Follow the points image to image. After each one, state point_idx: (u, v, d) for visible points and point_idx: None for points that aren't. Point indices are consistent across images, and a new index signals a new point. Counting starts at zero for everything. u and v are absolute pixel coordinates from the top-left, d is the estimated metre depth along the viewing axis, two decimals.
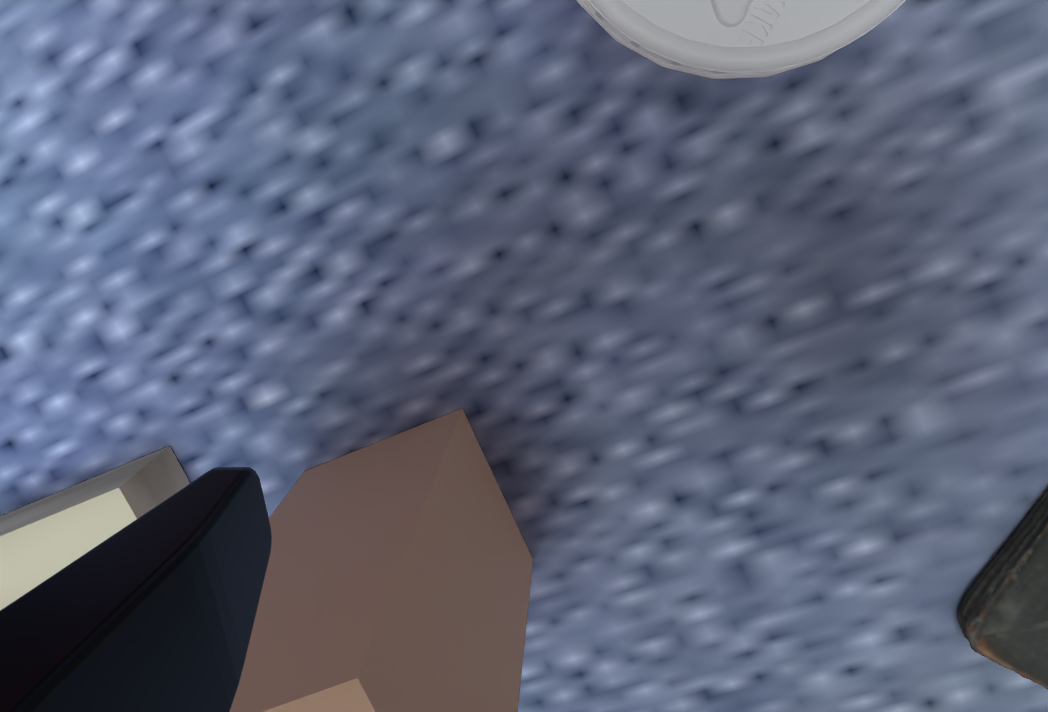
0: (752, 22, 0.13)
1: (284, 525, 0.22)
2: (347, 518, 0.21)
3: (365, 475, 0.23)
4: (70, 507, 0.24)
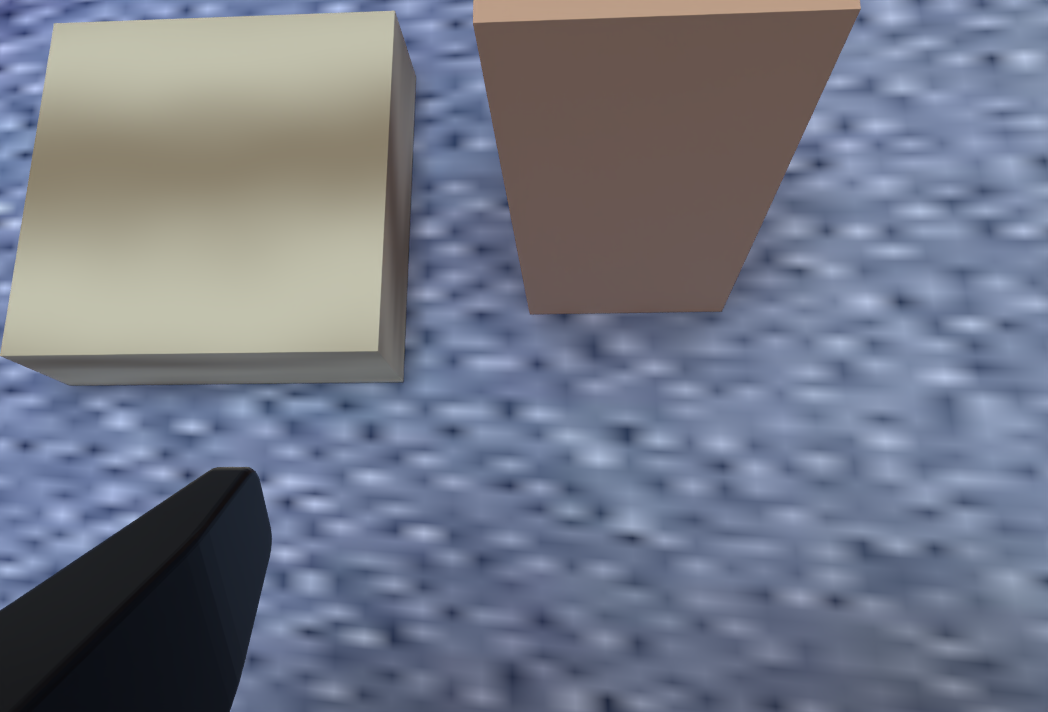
0: None
1: None
2: None
3: None
4: (336, 14, 0.23)
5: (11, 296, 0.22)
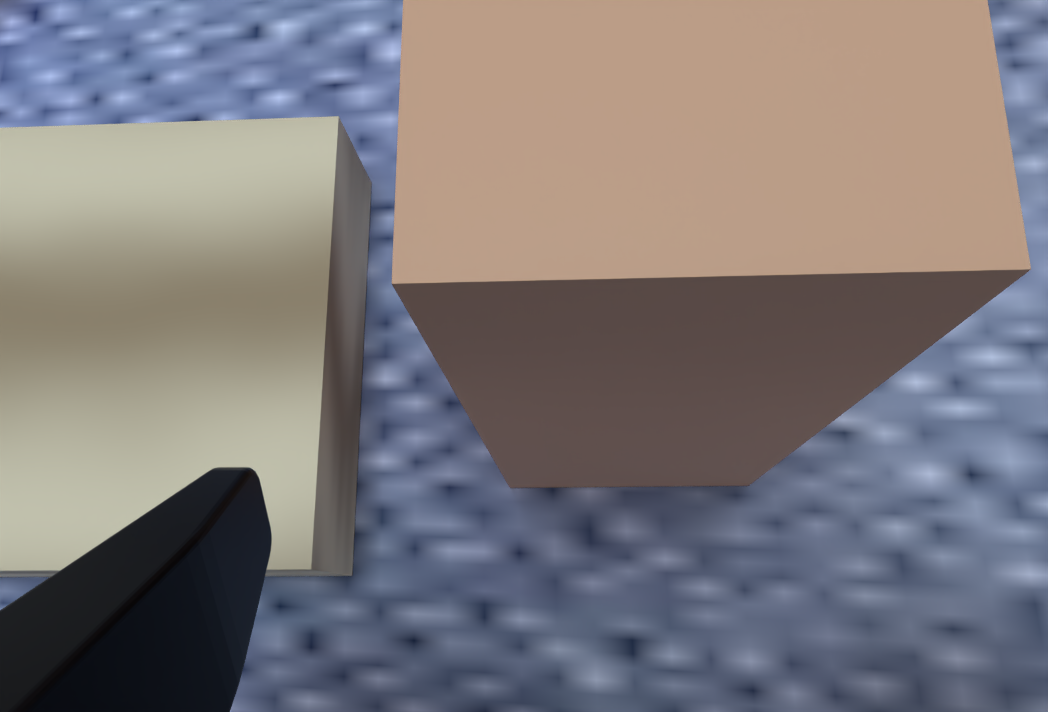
0: None
1: None
2: None
3: None
4: (266, 120, 0.19)
5: None
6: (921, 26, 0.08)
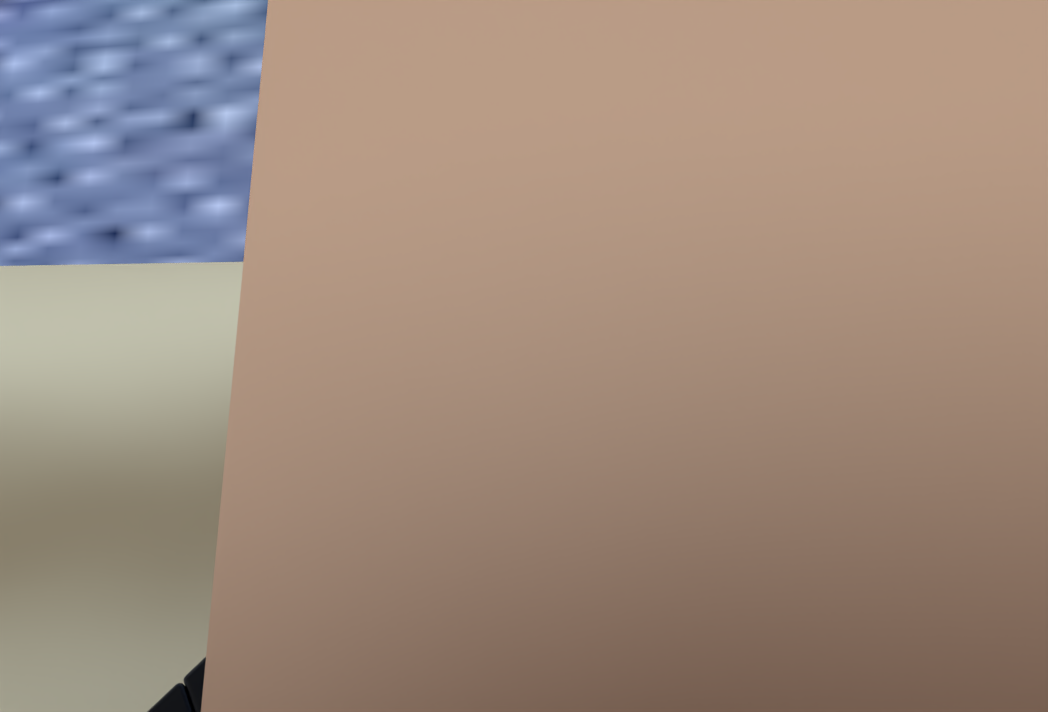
0: None
1: None
2: None
3: None
4: (185, 264, 0.14)
5: None
6: None
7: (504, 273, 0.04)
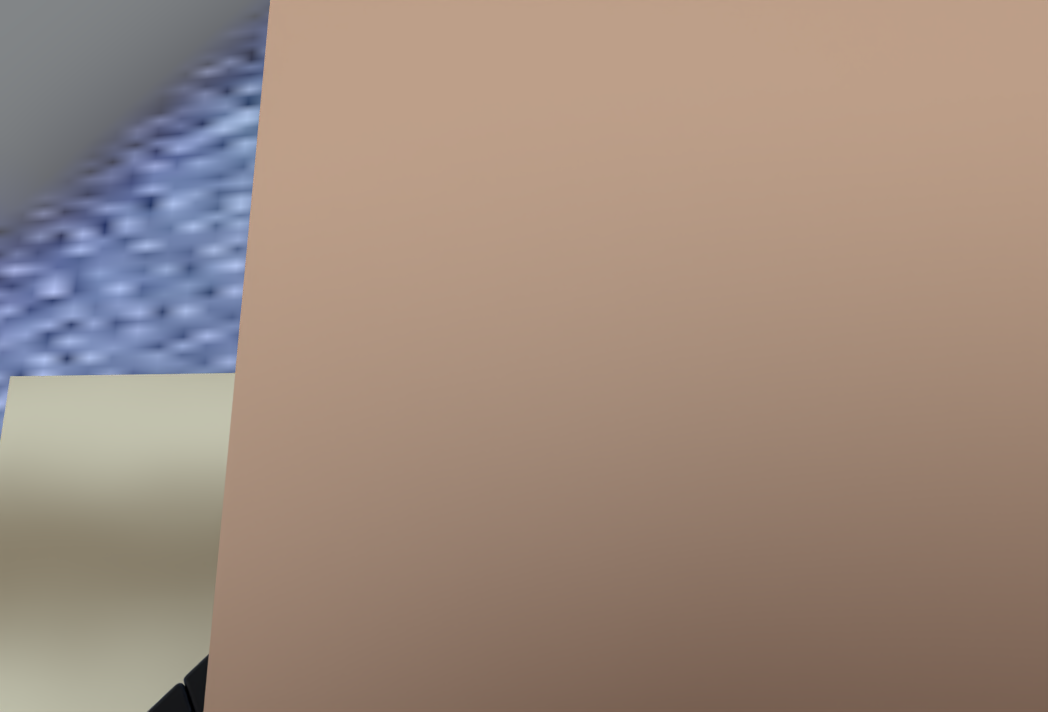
0: None
1: None
2: None
3: None
4: None
5: None
6: None
7: (506, 271, 0.04)
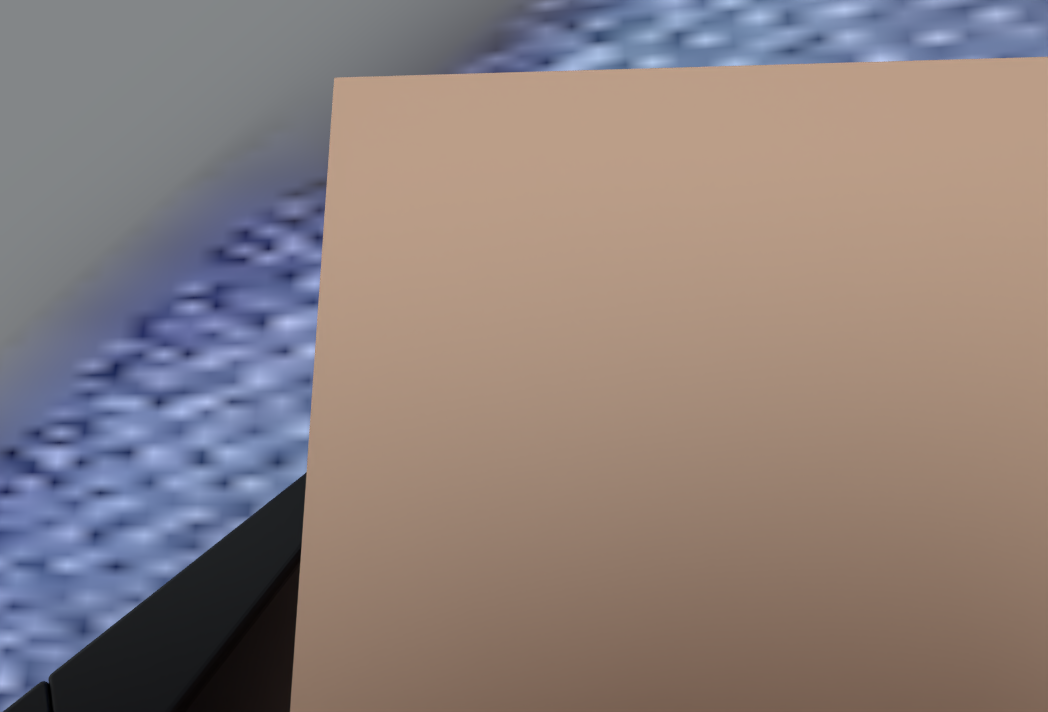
0: None
1: None
2: None
3: None
4: None
5: None
6: None
7: (518, 354, 0.05)
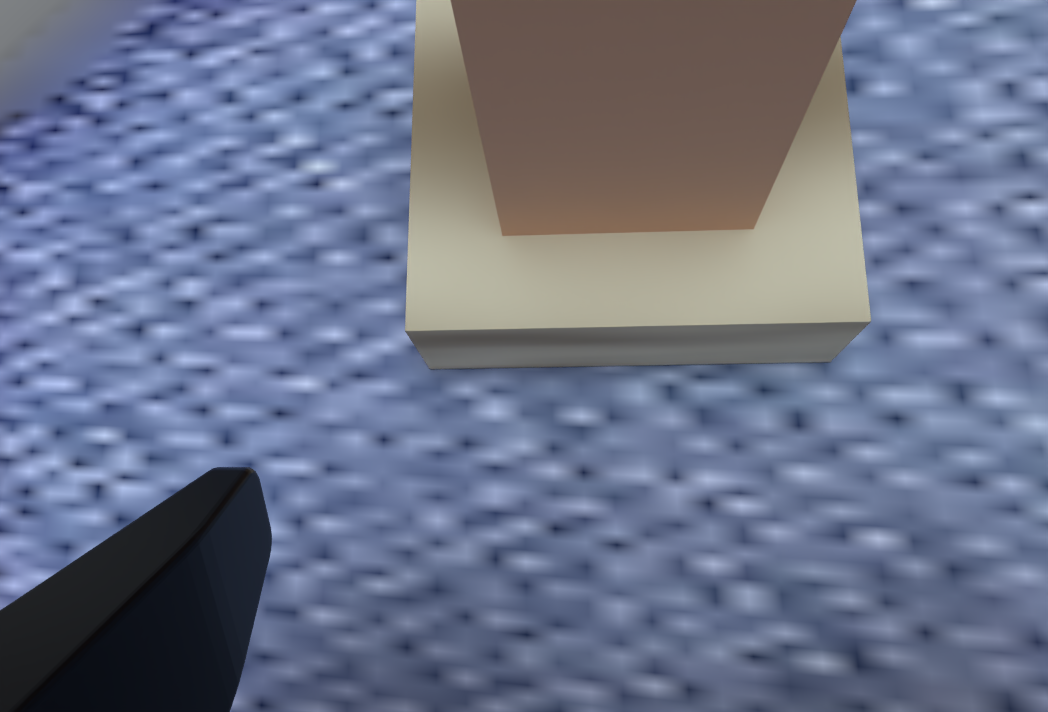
0: None
1: None
2: None
3: None
4: None
5: None
6: None
7: None
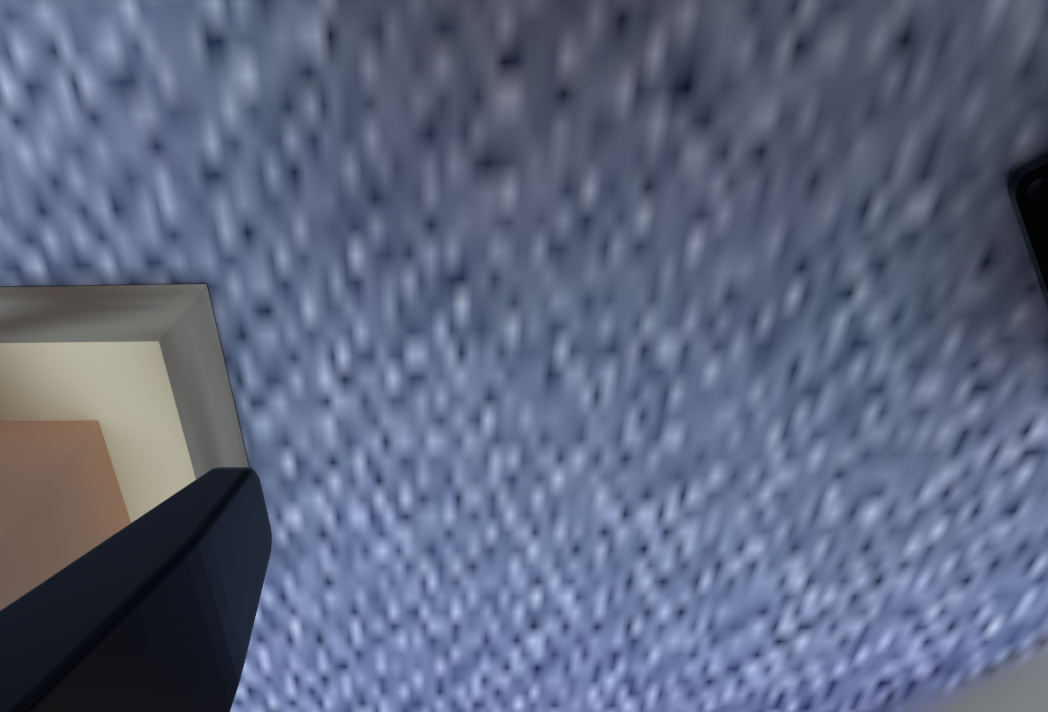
0: None
1: None
2: None
3: None
4: None
5: None
6: None
7: None
